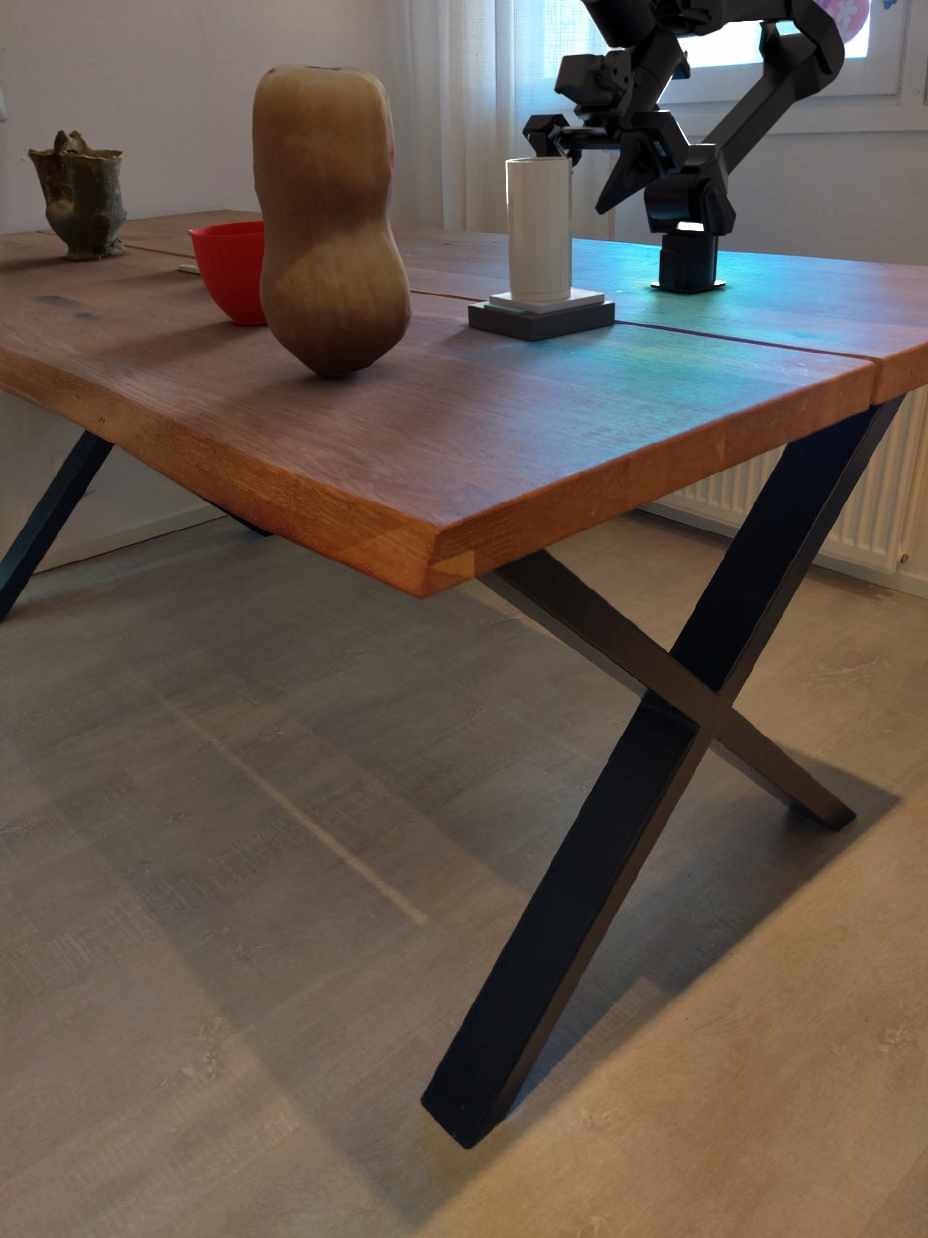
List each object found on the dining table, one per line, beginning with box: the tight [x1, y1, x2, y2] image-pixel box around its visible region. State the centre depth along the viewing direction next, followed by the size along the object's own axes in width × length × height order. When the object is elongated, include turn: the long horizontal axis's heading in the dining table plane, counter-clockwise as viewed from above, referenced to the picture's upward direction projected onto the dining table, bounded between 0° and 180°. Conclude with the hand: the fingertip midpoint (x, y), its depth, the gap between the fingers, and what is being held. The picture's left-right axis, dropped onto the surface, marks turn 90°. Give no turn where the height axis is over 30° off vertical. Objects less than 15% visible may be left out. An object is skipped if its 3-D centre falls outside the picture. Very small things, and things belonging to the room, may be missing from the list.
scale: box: [467, 287, 616, 342], centre depth 106 cm, size 11×11×3 cm
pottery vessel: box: [27, 129, 128, 261], centre depth 170 cm, size 25×11×20 cm, turn 40°
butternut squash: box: [251, 63, 413, 379], centre depth 87 cm, size 14×13×25 cm
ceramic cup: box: [190, 220, 268, 326], centre depth 116 cm, size 13×17×10 cm
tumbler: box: [505, 156, 573, 302], centre depth 102 cm, size 6×6×13 cm
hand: (564, 209), depth 104 cm, fingers open, 9 cm apart
